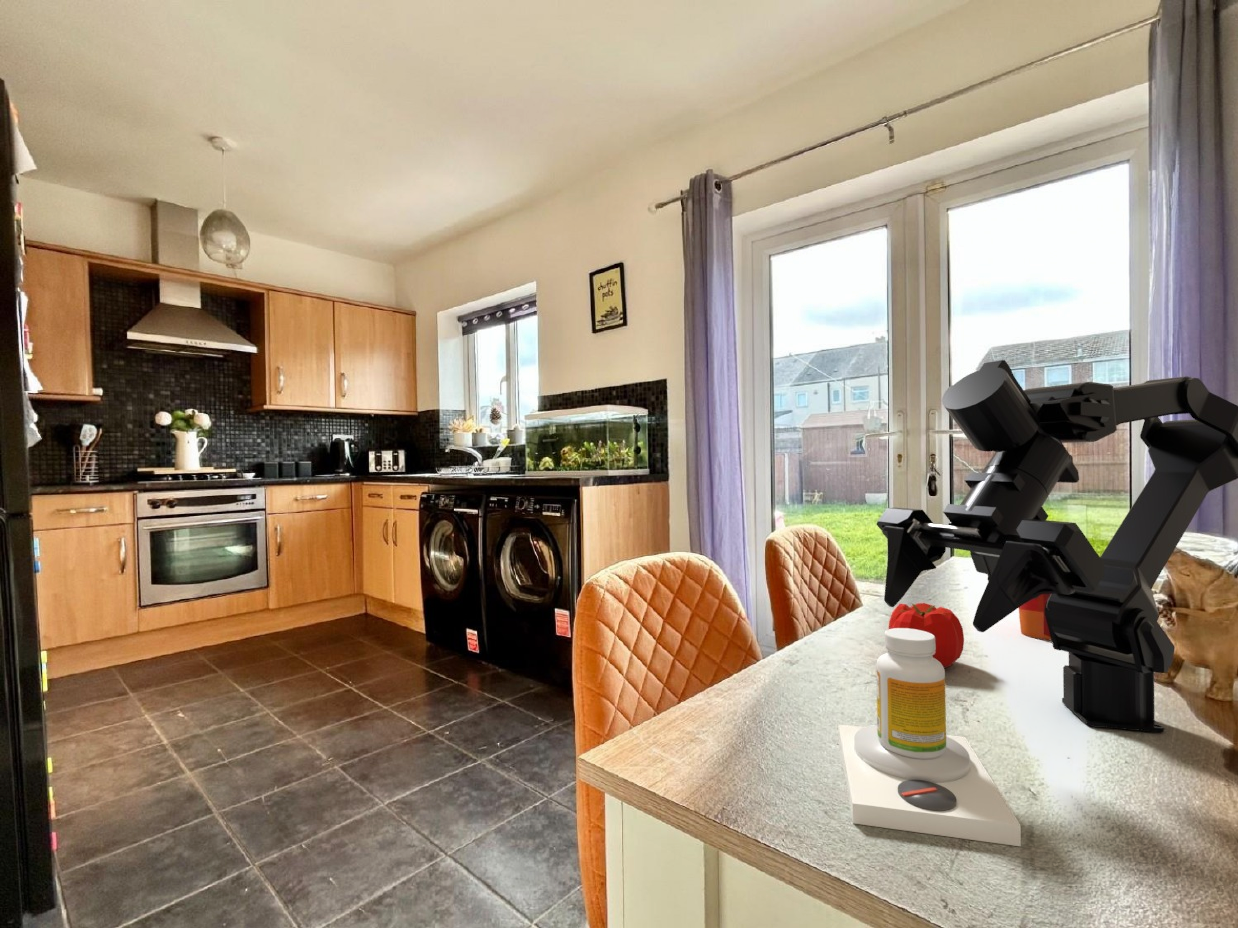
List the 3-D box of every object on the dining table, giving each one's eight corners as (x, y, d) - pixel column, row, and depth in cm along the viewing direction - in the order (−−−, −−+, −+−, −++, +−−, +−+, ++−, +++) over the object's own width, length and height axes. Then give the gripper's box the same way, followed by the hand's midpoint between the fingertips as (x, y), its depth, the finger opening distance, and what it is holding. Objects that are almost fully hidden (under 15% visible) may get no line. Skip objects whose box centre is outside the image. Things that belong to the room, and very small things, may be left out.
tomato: (918, 649, 87) (917, 596, 87) (978, 667, 79) (977, 610, 79) (870, 659, 83) (869, 604, 83) (928, 680, 75) (928, 619, 75)
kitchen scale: (965, 752, 56) (964, 728, 56) (1020, 846, 43) (1020, 813, 43) (838, 739, 59) (838, 716, 59) (852, 823, 45) (852, 792, 45)
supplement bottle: (961, 756, 51) (960, 639, 51) (905, 764, 49) (903, 645, 49) (916, 728, 56) (914, 623, 56) (864, 735, 55) (862, 628, 55)
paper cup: (1071, 632, 94) (1071, 541, 94) (1076, 645, 87) (1075, 547, 87) (1011, 625, 98) (1010, 538, 98) (1011, 637, 91) (1010, 544, 91)
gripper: (1168, 554, 51) (1086, 708, 47) (967, 531, 68) (894, 642, 64) (1108, 463, 48) (1015, 619, 44) (914, 463, 65) (834, 575, 61)
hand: (929, 615), depth 54 cm, fingers open, 9 cm apart
